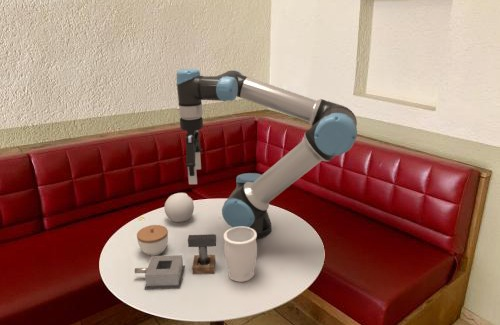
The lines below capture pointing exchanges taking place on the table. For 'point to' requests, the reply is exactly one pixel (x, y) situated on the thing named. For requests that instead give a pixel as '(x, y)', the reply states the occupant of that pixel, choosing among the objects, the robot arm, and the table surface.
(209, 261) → the key stand
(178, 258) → the square block with stud
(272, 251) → the table surface
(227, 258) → the jar
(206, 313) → the table surface
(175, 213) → the decorative ball
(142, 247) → the lidded jar
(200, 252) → the bar
